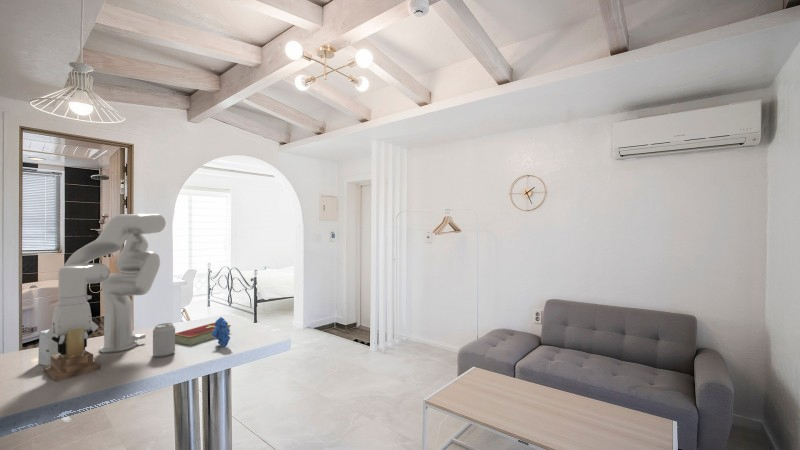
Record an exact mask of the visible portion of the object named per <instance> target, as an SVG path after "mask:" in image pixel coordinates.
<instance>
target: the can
mask: <svg viewBox="0 0 800 450" xmlns="http://www.w3.org/2000/svg"><path fill="white" fill-rule="evenodd" d="M175 333H176V327H175V325H174V323H172V322H162V323H159V324H158V323H157V324H155V326H154V328H153V329H152V355H153V356H155V357H156V358H163V357H164V358H165V357H169V356H171V355H172V354H173V353H174V352H175V351H176V342H175Z"/></svg>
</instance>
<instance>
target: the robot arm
mask: <svg viewBox="0 0 800 450" xmlns="http://www.w3.org/2000/svg"><path fill="white" fill-rule="evenodd" d="M166 224H167V223H166V219H165V217H164V216H163V215H162V214H159V213H131V214H130V213H129V214H127V213H126V214H125V213H122V214H116V215H113V216H112V217H111V219H110V220H109V221H108V222H107V224H106V225H105V227H104V228H103V230H102V231H101V232H100V234H99V235H98V237H97V238H96V239H95V240H93V241H91V242H89V243H87V244H85V245H83V246H82V247H81V248H79V249H77V250H76V251H74V252H73V253H72V254H71V255H70V256H69V257H68V259H67V261H66V262H65V263H64V264H63V266H62V267H60V268H59V269H58V293H57V294H58V295H57V296H58V297H57V298H58V301H57V304H58V305H55V306H54V309H53V314H52V321H51V327H50V328H49V329H50V330H49V329H48V330H49V331H48V332H47V333H46V334H45V335H44V337H46V338H48V339H51V340H53V341H55V342H57V343H58V353H60V354H61V355H64V354H65V343H64V338H65V335H66V334H68V329H72V328H78V327H85V331H84V350H86V348H87V347H88V338H89V337H90V336H91V335H92V334H93V332H95V331H96V330H97V329H99V325H98V324H97V323H95V322H94V321H93V318H92V311H91V305H90V303H89V302H88V301H89V300H92V297H93V296H92V295H88V284H90V285H91V284H99V283H101V287H100V288H101V291H102V295H103V306H104V313H103V315H104V318H103V321H104V323H103V325H104V326H103V327H104V328H103V334H104V335H103V345H101V346H99V347H98V348H99V349H98V351H99V352H100V353H105V354H106V353H116V352H117V353H118V352H123V351H127V350H130V349H133V348H135V347H136V346H137V344H138V342H137V341H138V340H142V339H146V333H143V334H133V333H134V332H133V328H134V327H133V322H134V321H133V319H134V318H133V315H134V314H133V313H134V305H133V301H132V299H131V298H130V297H129V296H144V295H146V294H148V293H149V292H150V290H151V288H152V287H153V286H152V285H153V283H154V281H155V280H156V277H157V274H158V272H159V269H160V265H161V258H160V255H159V254H158V253H157V252H155V251H150V250H148V248H149V242H148V240H147V239H146V237H145V236H144V235H147V234H148V235H149V234H156V233H160V232H161V233H162V231H163V230H164V229H165V227H166ZM123 245H124V246H123ZM122 247H123V248H122ZM121 248H122V250H121ZM119 250H121V252H120V254H119V256H118V258H117V261H116V265H115V266H116V269H117V270H118V271H119V272H114V273H111V271H110V268H109V267H108V266H107V265H106V264H103V263H101V262H100V263H98V262H96V263H94V262H93V263H92V262H91V261H94V260H96V259H99V258H101V257H104V256H107V255H111V254H114V253H116V252H118V251H119ZM90 262H91V263H90ZM53 333H54V334H56V335H58V337H55V336H52V334H53Z"/></svg>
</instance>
